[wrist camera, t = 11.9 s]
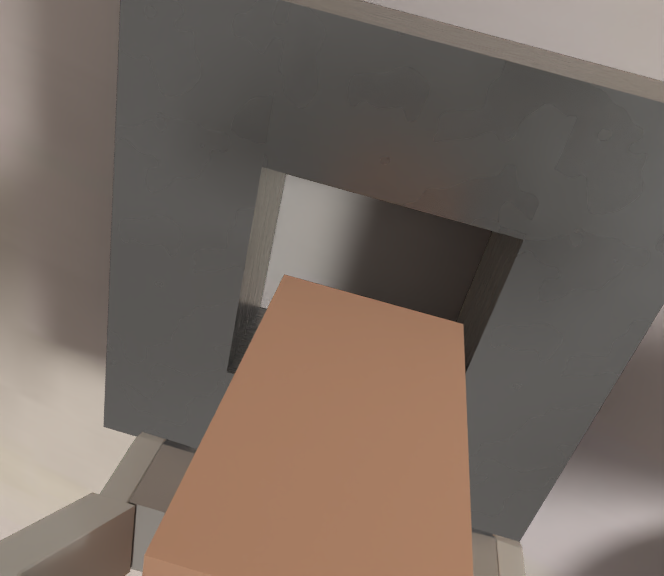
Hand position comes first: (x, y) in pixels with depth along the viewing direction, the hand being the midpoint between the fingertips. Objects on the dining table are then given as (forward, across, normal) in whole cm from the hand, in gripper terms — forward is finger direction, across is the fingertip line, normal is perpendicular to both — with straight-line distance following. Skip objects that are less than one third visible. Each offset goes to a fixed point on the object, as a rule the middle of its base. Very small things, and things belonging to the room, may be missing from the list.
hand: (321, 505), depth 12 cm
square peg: (+5, 0, 0) cm, 5 cm away
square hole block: (+11, 0, 0) cm, 11 cm away
